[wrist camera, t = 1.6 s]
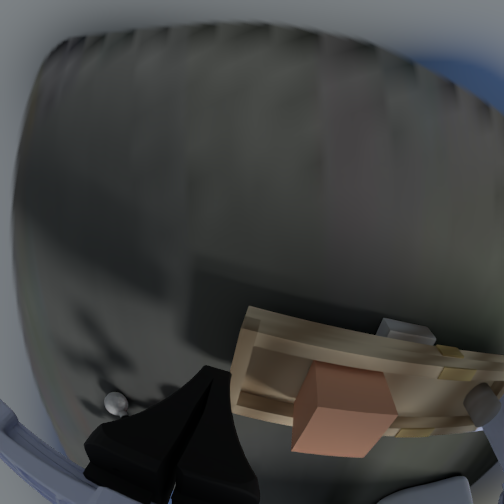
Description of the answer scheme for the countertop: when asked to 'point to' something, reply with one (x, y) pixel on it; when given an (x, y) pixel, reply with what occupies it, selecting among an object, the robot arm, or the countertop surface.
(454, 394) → the wooden tray
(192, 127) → the countertop surface
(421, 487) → the plastic bottle
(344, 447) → the pink cube
